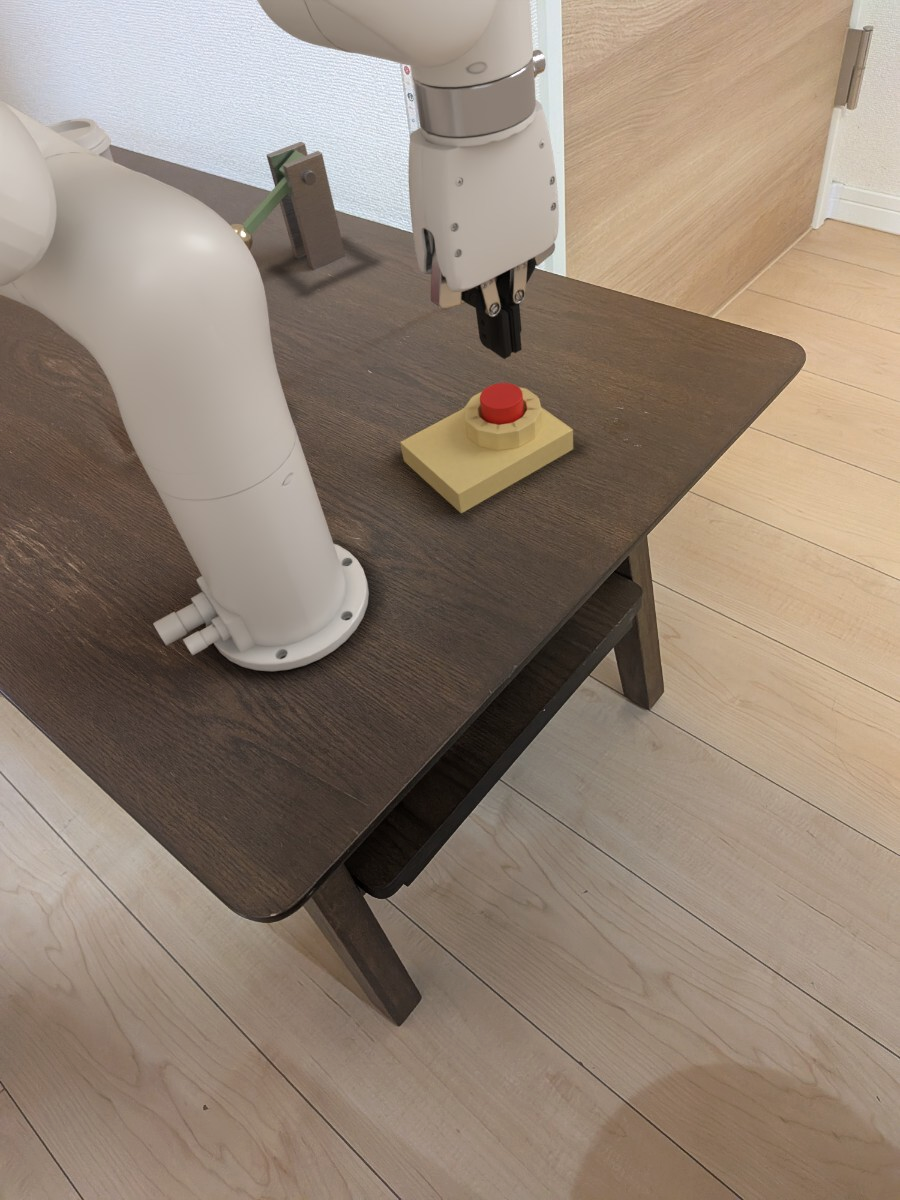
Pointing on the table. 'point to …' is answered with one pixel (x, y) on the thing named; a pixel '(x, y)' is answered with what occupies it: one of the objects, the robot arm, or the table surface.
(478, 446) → the button box
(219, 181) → the table surface
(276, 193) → the lever
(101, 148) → the coffee cup
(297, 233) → the bracket
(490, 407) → the button
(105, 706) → the table surface
